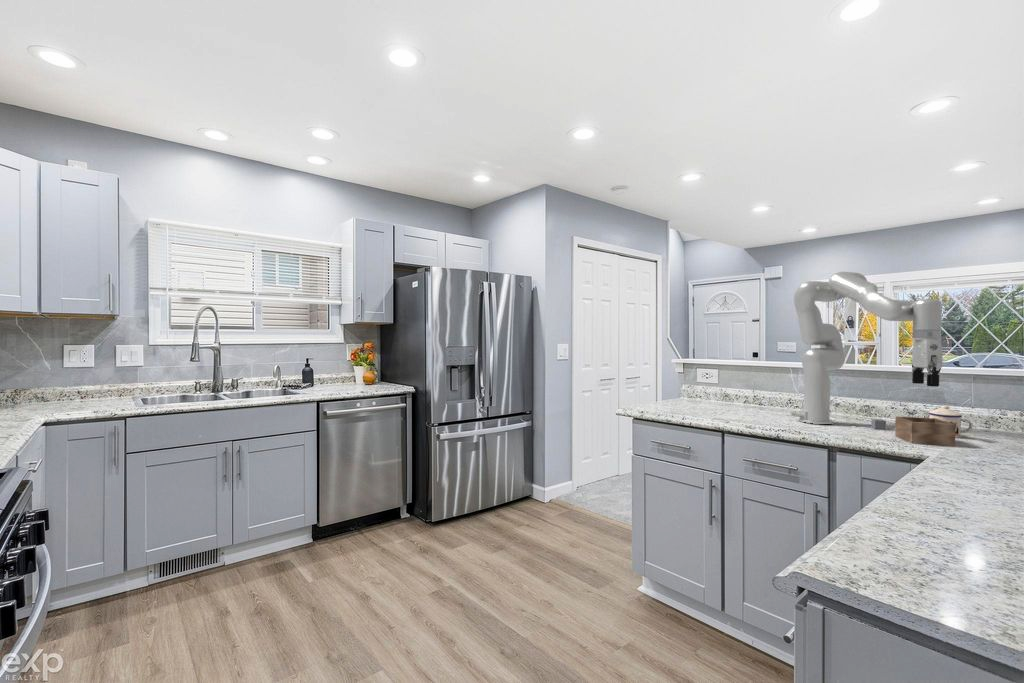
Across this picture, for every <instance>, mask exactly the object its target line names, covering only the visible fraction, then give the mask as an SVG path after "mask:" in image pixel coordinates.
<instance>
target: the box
mask: <svg viewBox="0 0 1024 683" xmlns="http://www.w3.org/2000/svg"><path fill="white" fill-rule="evenodd" d="M894 421H895V424H894V425H895V427H894V429H895V430H894V436H895V437H896V438H898V439H901V440H903V441H905V442H907V443H909V444H916V445H930V446H943V447H945V446H946V447H955V446H956V438H955V429H956V425H955V424H952V423H949V422H946V421H942V420H939V419H936V418H930V417H914V416H897V415H895V420H894Z"/></svg>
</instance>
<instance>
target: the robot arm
mask: <svg viewBox="0 0 1024 683" xmlns="http://www.w3.org/2000/svg"><path fill="white" fill-rule="evenodd" d="M878 291H879V288H878V286H877V284H875V283H873V282H871V281H868V279H867V278H866V276H865V275H864V274H862V273H859V272H853V271H838V272H835V273H834V274H832V275H831V276H830V278H829V279H828V281H821V280H820V281H817V280H810V281H806V282H803V283H801V284H800V285H799V286H798V287H797V288H796V290H795V292H794V294H793V304H794V308H795V311H796V314H797V320H798V326H799V331H800V336H801V339H802V342H803V343H804V344H806V345H809V346H819V347H814V348H809V349H807V350H806V351H805V352H804V353H803V354H802V357H801V365H802V370H803V406H802V407H803V408H802V409H801V410H800V411H798V412H797V411H790V417H796V418H798V421H799V422H801V423H804V422H806V423H805V424H810V423H813V424H812V425H819V424H832V425H834V424H835V421H834V420H832V419H831V418H830V416H831V378H830V375H829V372H828V371H836V370H839V369H840V368H843V366H844V365H845V359H846V356H845V350H844V346H843V341H842V336H841V333H840V331H839V329H838V328H837V327H836V326H835V325H834V324H831V323H824V322H823V319H822V314H821V311H820V308H819V307H818V306H817V305H816V302H822V303H823V302H825V303H831V302H836V301H840V300H842V299H845V298H848V299H849V300H852V301H854V302H856V303H858V304H859V305H860V306H861V307H862V309H864V311H866V312H868V313H870V314H872V315H874V316H875V317H878V318H880V319H883V320H885V321H889V322H912V338H911V339H912V340H913V345H912V353H911V354H912V356H911V357H912V358H911V360H910V361H911V372H912V376H911V377H912V378H911V379H912V380H911V382H912V384H917V385H918V384H919V385H922V384H925V383H924V381H925V372H924V370H925V369H926V371H927V374H926V386H928V387H940V375H941V372H940V371H941V370H942V368H943V346H942V342H941V341H942V319H943V318H942V315H943V311H942V310H943V309H942V308H943V304H942V301H941V300H938V299H919V300H905V299H904V300H902V299H901V300H900V299H892V298H890V297H887V296H886V295H883V294H881V293H879V292H878Z"/></svg>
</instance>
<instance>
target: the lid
mask: <svg viewBox="0 0 1024 683" xmlns="http://www.w3.org/2000/svg"><path fill="white" fill-rule="evenodd" d="M870 421H871V424H870V426H862V425H859V426H860V427H861V426H862V427H865V428H864V429H873V430H874V431H875V430H878V431H886V430H887V429H886V428H887V425H886V424H887V421H886V420H884V419H882V418H871V420H870ZM893 429H894V430H893V431H895V428H893Z"/></svg>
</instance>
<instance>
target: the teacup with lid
mask: <svg viewBox="0 0 1024 683" xmlns="http://www.w3.org/2000/svg"><path fill="white" fill-rule="evenodd" d="M928 414H929V418H936V419H939V420H942V421H946V422H949V423H952V424H955V425H956V429H955V439H960V438H961V435H962V434H965V433H969V432H971V431H972V429H973V426H974V425H973V422H972V421H971V420H969V419H965V418H962V417H963V416H962V414H961V413H960V412H957V411H955V410H953V409H951V408H950V406H949V405H941V407H940V408H937V409H933V410H929V412H928ZM962 422H967V423H968V424H969V427H968V428H967V429H966V430H962Z"/></svg>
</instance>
